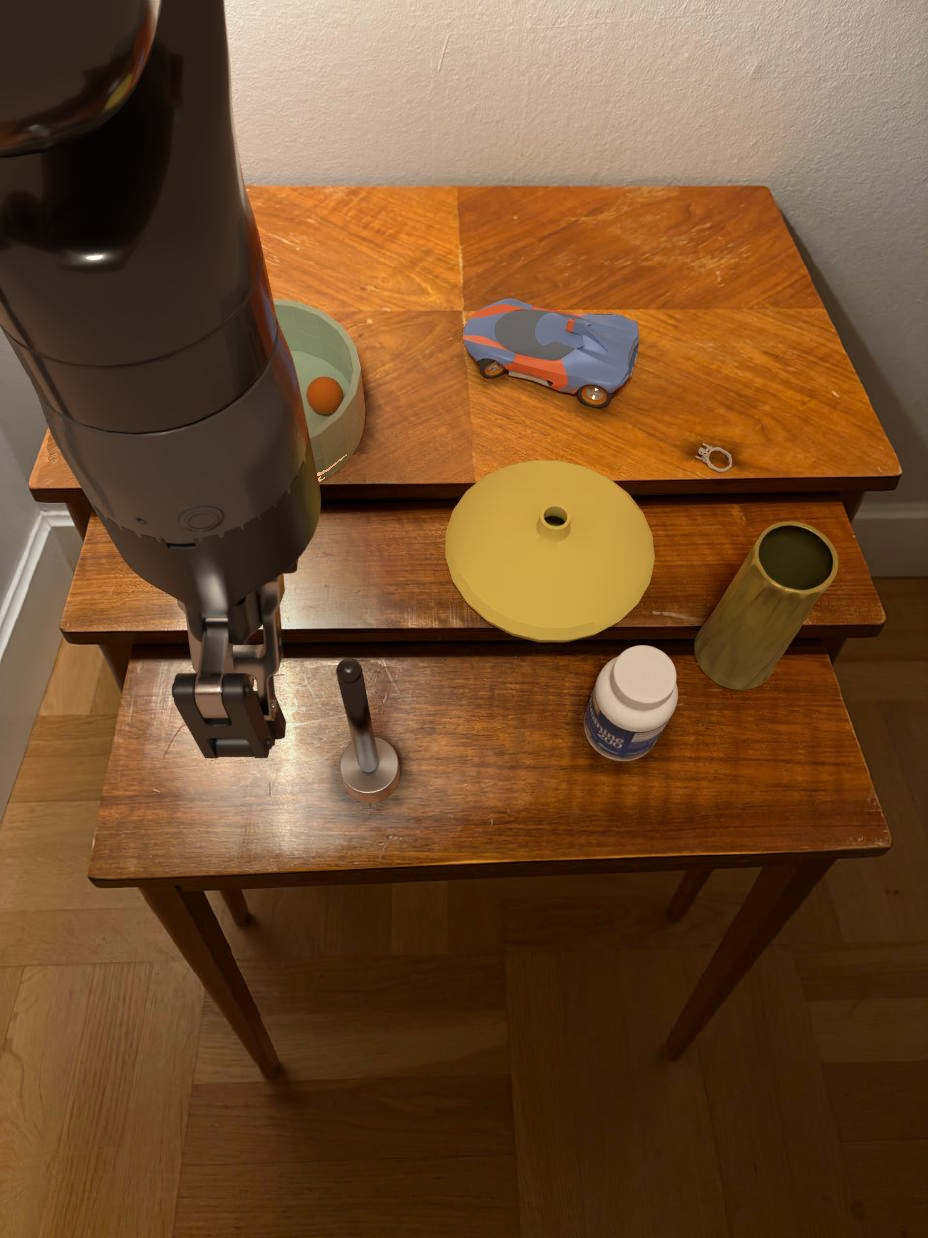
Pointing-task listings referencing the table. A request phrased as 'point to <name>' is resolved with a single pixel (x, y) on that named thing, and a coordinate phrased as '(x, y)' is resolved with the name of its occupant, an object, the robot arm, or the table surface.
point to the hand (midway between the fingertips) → (269, 647)
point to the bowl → (325, 354)
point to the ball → (324, 395)
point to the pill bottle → (631, 703)
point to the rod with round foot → (364, 742)
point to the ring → (706, 457)
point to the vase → (765, 605)
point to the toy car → (554, 347)
